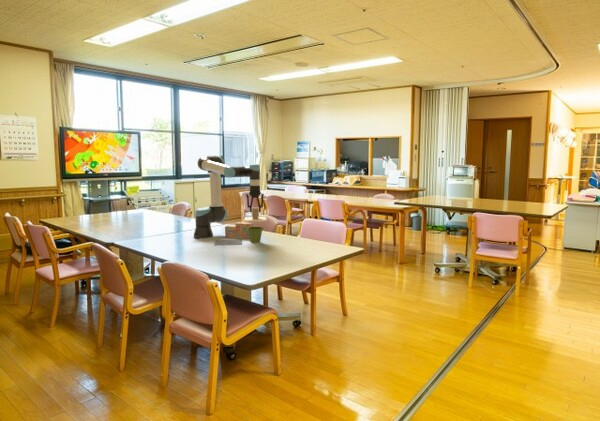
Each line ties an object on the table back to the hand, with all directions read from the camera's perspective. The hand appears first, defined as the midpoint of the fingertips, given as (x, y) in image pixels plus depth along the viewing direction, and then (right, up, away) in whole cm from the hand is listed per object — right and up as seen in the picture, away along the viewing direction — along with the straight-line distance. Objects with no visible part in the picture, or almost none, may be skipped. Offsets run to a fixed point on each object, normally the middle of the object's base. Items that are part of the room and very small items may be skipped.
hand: (255, 216), depth 305 cm
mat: (-20, -20, 0) cm, 28 cm away
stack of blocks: (-15, -18, +21) cm, 31 cm away
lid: (0, -2, 0) cm, 3 cm away
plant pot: (0, -20, +3) cm, 20 cm away
